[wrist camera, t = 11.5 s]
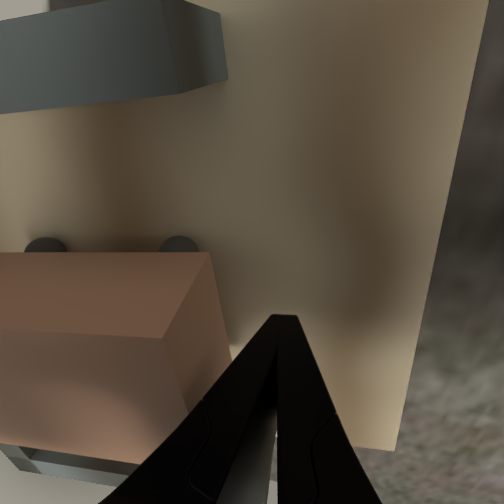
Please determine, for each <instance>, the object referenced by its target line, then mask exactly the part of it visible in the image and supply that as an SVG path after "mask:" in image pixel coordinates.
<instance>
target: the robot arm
mask: <svg viewBox="0 0 504 504" xmlns="http://www.w3.org/2000/svg"><path fill="white" fill-rule="evenodd" d="M202 399H203V400H200V401H199V402H198V403H197V405H196V406H195V407H194V408H193V410H192V411H191V412H190V413H189V414H188V415H187V416H186V418H185V419H184V420H183V421H182V422H181V423H180V425H179V426H178V427H177V428H176V429H175V430H174V431H173V432H172V433H171V434H170V435H169V436H168V437H167V438H166V439H165V440H164V441H163V442H162V443H161V444H160V445H159V446H158V447H157V448H156V449H155V450H154V451H153V452H152V453H151V454H150V455H149V456H148V457H147V458H146V459H145V460H144V461H143V462H142V463H141V464H140V465H139V466H138V467H137V468H136V469H135V470H134V471H133V472H132V473H131V474H130V475H129V476H128V477H127V478H126V479H125V480H124V481H123V482H122V483H121V484H120V485H119V486H118V487H117V488H116V489H115V490H114V491H113V492H112V493H111V494H109V495H108V496H107V497H106V498H105V499H103V500H102V501H101V502H100V503H98V504H263V499H264V494H265V489H266V484H267V478H268V473H269V468H270V463H271V458H272V453H273V447H274V442H275V437H276V432H277V483H278V484H277V485H278V504H382V502H381V500H380V499H379V497H378V495H377V493H376V491H375V490H374V488H373V486H372V484H371V482H370V481H369V479H368V477H367V475H366V473H365V472H364V470H363V468H362V466H361V464H360V462H359V460H358V458H357V456H356V454H355V452H354V450H353V448H352V446H351V444H350V441H349V439H348V437H347V435H346V432H345V430H344V428H343V425H342V423H341V421H340V418H339V416H338V414H337V411H336V409H335V406H334V404H333V401H332V399H331V396H330V394H329V392H328V389H327V387H326V384H325V382H324V379H323V377H322V374H321V372H320V369H319V367H318V364H317V362H316V360H315V357H314V355H313V352H312V350H311V347H310V345H309V342H308V340H307V337H306V335H305V333H304V330H303V328H302V325H301V323H300V320H299V318H298V316H297V315H291V314H271V315H270V316H269V318H268V319H267V320H266V321H265V322H264V324H263V325H262V326H261V327H260V328H259V330H258V331H257V332H256V333H255V334H254V336H253V337H252V338H251V339H250V341H249V342H248V343H247V344H246V345H245V347H244V348H243V349H242V350H241V351H240V353H239V354H238V355H237V356H236V358H235V359H234V360H233V361H232V362H231V364H230V365H229V366H228V367H227V368H226V370H225V371H224V372H223V373H222V375H221V376H220V377H219V378H218V379H217V381H216V382H215V383H214V384H213V385H212V387H211V388H210V389H209V390H208V392H207V393H206V394H205V395H204V396H203V398H202Z"/></svg>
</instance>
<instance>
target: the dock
mask: <svg viewBox="0 0 504 504" xmlns="http://www.w3.org/2000/svg"><path fill="white" fill-rule="evenodd" d="M488 3H489V0H108V1H103V2H97V3H92V4H87V5H81V6H76V7H71V8H66V9H60V10H55V11H50V12H44V13H39V14H34V15H29V16H24V17H19V18H13V19H7V20H2V21H0V252H24V250H25V248H26V246H27V245H28V244H29V243H30V242H31V241H33V240H35V239H37V238H41V237H50V238H54V239H56V240H58V241H60V242H61V243H62V244H63V245H64V246H65V248H66V250H67V252H158V251H159V248H160V246H161V245H162V243H163V242H164V241H165V240H167V239H168V238H170V237H173V236H185V237H188V238H190V239H192V240H193V241H194V242H195V243H196V245H197V246H198V248H199V251H200V252H209V253H210V257H211V262H212V267H213V272H214V276H215V281H216V286H217V291H218V296H219V300H220V305H221V310H222V315H223V320H224V324H225V329H226V334H227V339H228V344H229V348H230V353H231V358H232V361H233V360H234V359H235V358H236V356H237V355H238V354H239V353H240V351H241V350H242V349H243V348H244V347H245V345H246V344H247V343H248V342H249V341H250V339H251V338H252V337H253V336H254V334H255V333H256V332H257V331H258V330H259V328H260V327H261V326H262V325H263V324H264V322H265V321H266V320H267V319H268V318H269V316H270V315H271V314H291V315H297V316H298V318H299V320H300V323H301V325H302V328H303V330H304V333H305V335H306V337H307V340H308V342H309V345H310V347H311V350H312V352H313V355H314V357H315V360H316V362H317V364H318V367H319V369H320V372H321V374H322V377H323V379H324V382H325V384H326V387H327V389H328V392H329V394H330V396H331V399H332V401H333V404H334V406H335V409H336V411H337V414H338V416H339V418H340V421H341V423H342V425H343V428H344V430H345V432H346V435H347V437H348V439H349V441H350V444H351V446H355V447H364V448H372V449H380V450H389V451H394V450H395V445H396V440H397V436H398V431H399V426H400V421H401V416H402V412H403V407H404V402H405V397H406V393H407V388H408V383H409V378H410V374H411V369H412V364H413V359H414V355H415V350H416V345H417V340H418V336H419V331H420V326H421V321H422V317H423V312H424V307H425V302H426V298H427V293H428V288H429V283H430V279H431V274H432V269H433V264H434V260H435V255H436V250H437V245H438V241H439V236H440V231H441V226H442V222H443V217H444V212H445V207H446V203H447V198H448V193H449V188H450V184H451V179H452V174H453V169H454V165H455V160H456V155H457V150H458V146H459V141H460V136H461V131H462V126H463V122H464V117H465V112H466V107H467V103H468V98H469V93H470V88H471V84H472V79H473V74H474V69H475V65H476V60H477V55H478V50H479V46H480V41H481V36H482V31H483V27H484V22H485V17H486V12H487V8H488ZM276 437H277V432H276ZM273 448H274V447H273ZM0 450H1V451H2V452H3V453H4V454H5V455H6V456H7V457H8V458H9V459H10V460H11V461H12V463H14V465H15V466H16V467H17V468H18V469H19V470H21V471H27V472H33V473H39V474H45V475H50V476H56V477H62V478H68V479H74V480H80V481H86V482H91V483H97V484H103V485H109V486H115V487H118V486H119V485H120V484H121V483H122V482H123V481H124V480H125V479H126V478H127V477H128V476H129V475H130V474H131V473H132V472H133V471H134V470H135V469H136V468H137V467H138V466H139V465H140V464H135V463H128V462H122V461H115V460H109V459H102V458H95V457H89V456H82V455H76V454H69V453H63V452H56V451H50V450H43V449H36V448H30V447H23V446H17V445H10V444H4V443H0ZM272 456H273V453H272ZM271 464H272V458H271V463H270V468H269V473H268V478H267V484H266V489H265V494H264V499H263V504H267V497H268V489H269V481H270V473H271Z"/></svg>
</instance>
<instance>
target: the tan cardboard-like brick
mask: <svg viewBox="0 0 504 504" xmlns="http://www.w3.org/2000/svg"><path fill="white" fill-rule="evenodd" d="M231 362H232V358H231V353H230V348H229V344H228V339H227V334H226V329H225V324H224V320H223V315H222V310H221V305H220V300H219V296H218V291H217V286H216V281H215V276H214V272H213V267H212V262H211V257H210V253H209V252H200V251H199V248H198V246H197V245H196V243H195V242H194V241H193V240H192V239H190V238H188V237H185V236H173V237H170V238H168V239H167V240H165V241H164V242H163V243H162V245H161V246H160V248H159V251H158V252H67V250H66V248H65V246H64V245H63V244H62V243H61V242H60V241H58V240H56V239H54V238H50V237H41V238H37V239H35V240H33V241H31V242H30V243H29V244H28V245H27V246H26V248H25V250H24V252H0V443H4V444H10V445H17V446H23V447H30V448H36V449H43V450H50V451H56V452H63V453H69V454H76V455H82V456H89V457H95V458H102V459H109V460H115V461H122V462H128V463H135V464H141V463H142V462H143V461H144V460H145V459H146V458H147V457H148V456H149V455H150V454H151V453H152V452H153V451H154V450H155V449H156V448H157V447H158V446H159V445H160V444H161V443H162V442H163V441H164V440H165V439H166V438H167V437H168V436H169V435H170V434H171V433H172V432H173V431H174V430H175V429H176V428H177V427H178V426H179V425H180V423H181V422H182V421H183V420H184V419H185V418H186V416H187V415H188V414H189V413H190V412H191V411H192V410H193V408H194V407H195V406H196V405H197V403H198V402H199V401H200V400H203V399H202V398H203V396H204V395H205V394H206V393H207V392H208V390H209V389H210V388H211V387H212V385H213V384H214V383H215V382H216V381H217V379H218V378H219V377H220V376H221V375H222V373H223V372H224V371H225V370H226V368H227V367H228V366H229V365H230V364H231Z"/></svg>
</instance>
